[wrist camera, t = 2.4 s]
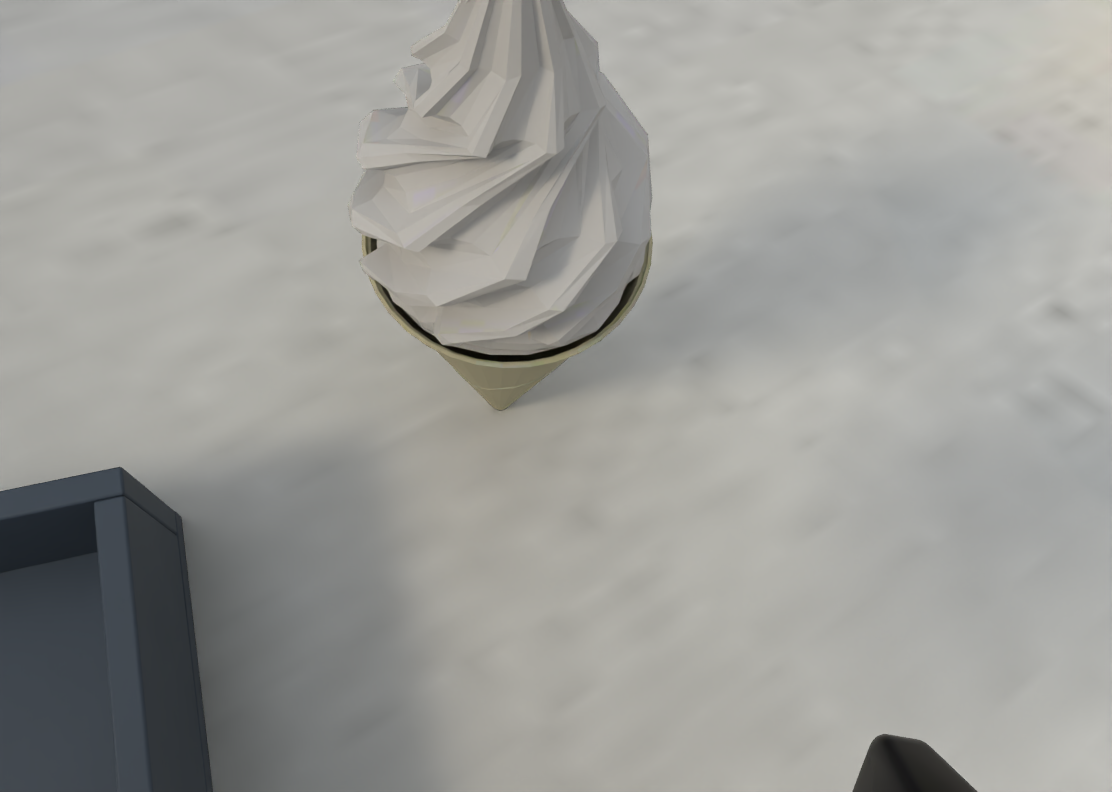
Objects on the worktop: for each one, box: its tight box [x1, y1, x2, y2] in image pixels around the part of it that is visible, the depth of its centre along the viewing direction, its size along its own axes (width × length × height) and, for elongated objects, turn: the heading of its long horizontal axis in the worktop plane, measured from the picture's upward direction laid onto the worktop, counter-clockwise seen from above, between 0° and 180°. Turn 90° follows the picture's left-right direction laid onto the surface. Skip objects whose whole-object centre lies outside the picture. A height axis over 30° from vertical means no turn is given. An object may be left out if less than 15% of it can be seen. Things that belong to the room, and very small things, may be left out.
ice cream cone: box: [348, 0, 653, 410], centre depth 17 cm, size 5×5×15 cm
